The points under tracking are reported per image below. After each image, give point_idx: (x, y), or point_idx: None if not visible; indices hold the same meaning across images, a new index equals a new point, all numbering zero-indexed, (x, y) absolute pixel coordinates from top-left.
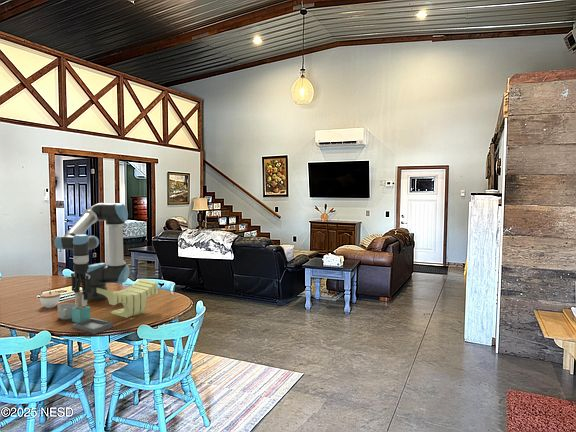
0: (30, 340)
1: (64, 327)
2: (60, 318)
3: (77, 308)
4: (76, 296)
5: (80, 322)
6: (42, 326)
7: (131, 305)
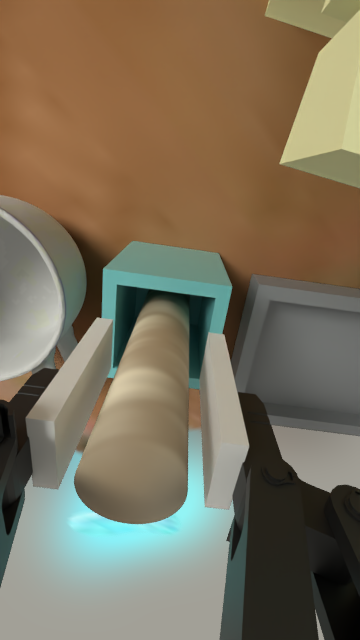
0: (164, 523)
1: None
2: (21, 323)
3: (117, 329)
4: (80, 435)
5: (246, 379)
6: None
7: None
